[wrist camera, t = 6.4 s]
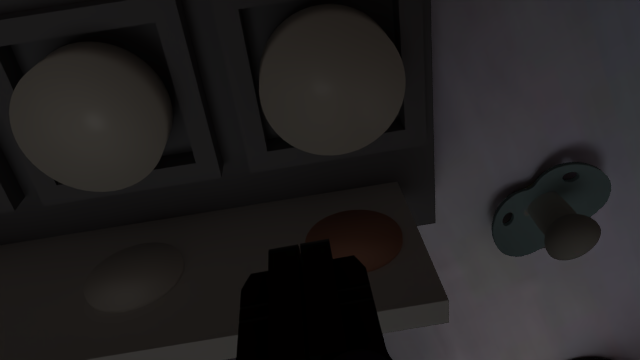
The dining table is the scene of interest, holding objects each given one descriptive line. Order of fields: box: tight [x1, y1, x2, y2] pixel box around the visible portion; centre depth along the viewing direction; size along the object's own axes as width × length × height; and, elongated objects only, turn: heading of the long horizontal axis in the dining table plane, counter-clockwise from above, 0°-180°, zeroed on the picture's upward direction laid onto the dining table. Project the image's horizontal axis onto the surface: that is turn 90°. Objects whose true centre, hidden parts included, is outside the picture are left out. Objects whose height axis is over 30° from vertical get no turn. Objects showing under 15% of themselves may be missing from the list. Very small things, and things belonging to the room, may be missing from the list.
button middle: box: [9, 41, 173, 192], centre depth 22 cm, size 6×6×2 cm
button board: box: [0, 0, 449, 360], centre depth 23 cm, size 30×16×12 cm, turn 97°
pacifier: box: [492, 162, 611, 260], centre depth 31 cm, size 7×6×6 cm
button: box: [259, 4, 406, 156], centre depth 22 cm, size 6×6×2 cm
